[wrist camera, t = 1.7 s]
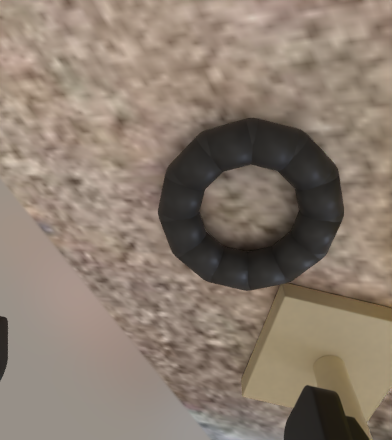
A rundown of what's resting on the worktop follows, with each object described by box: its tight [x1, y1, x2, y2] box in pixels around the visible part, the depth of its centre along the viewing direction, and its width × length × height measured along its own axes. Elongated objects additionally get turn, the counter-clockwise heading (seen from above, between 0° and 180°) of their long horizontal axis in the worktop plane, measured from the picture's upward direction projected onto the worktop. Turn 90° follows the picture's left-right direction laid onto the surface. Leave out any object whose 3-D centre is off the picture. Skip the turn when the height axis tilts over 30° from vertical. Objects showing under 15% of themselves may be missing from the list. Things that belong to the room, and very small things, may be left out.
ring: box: [158, 118, 344, 291], centre depth 20 cm, size 10×10×2 cm
